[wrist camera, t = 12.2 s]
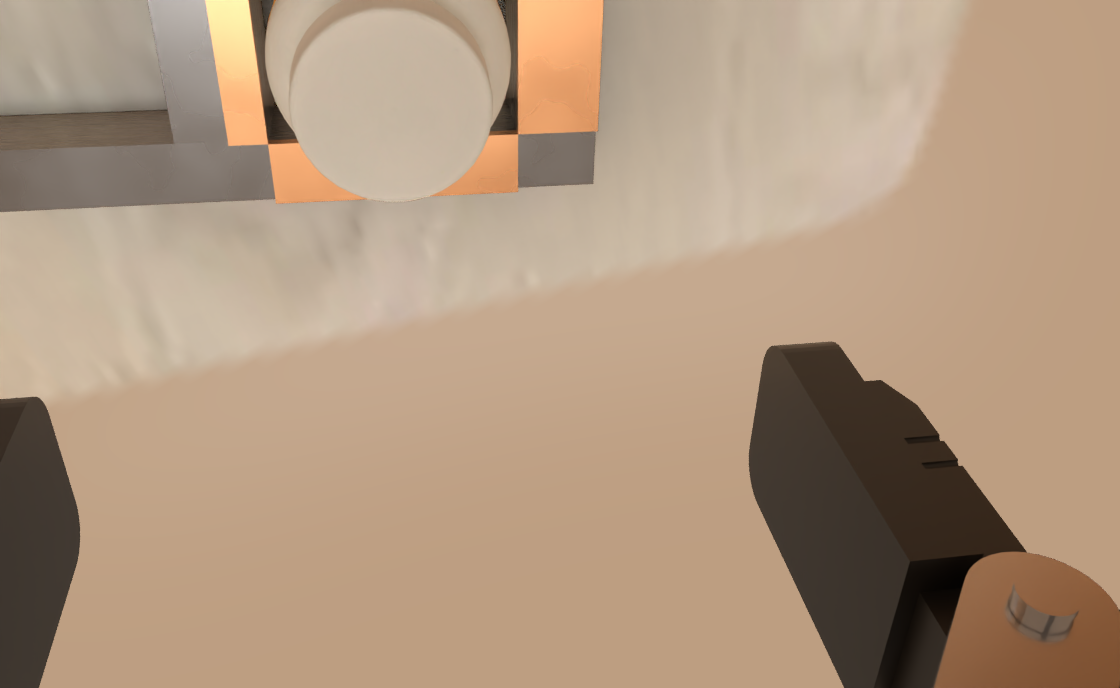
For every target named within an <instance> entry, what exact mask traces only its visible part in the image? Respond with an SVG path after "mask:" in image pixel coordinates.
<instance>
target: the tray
mask: <svg viewBox="0 0 1120 688" xmlns="http://www.w3.org/2000/svg"><path fill="white" fill-rule="evenodd" d="M603 1H604V0H505V24H506V27H507V32H508V37H509V43H510V51H511V69H510V79H509V85H508V89H507V92H506V99H505V100H504V102H503V105H502V107H501V110H500V112H499V114H498V116H497V117H496V119H495V121H494V123H493V125H492V126H491V128H490V132H489V136H488V139H487V141H486V144H485V146H484V148H483V150H482V152H481V153H480V155H479V157H478V158H477V160H476V162H475V163H474V165H473V166H472V167H471V168H470V169H469V170H468V171H467V172H466V173H465V174H464V175H463V176H462V177H461V178H460V179H459V180H458V181H456V182H455V183H453V184H452V185H450V186H449V187H447V188H446V189H444V190H442V191H440V192H438V193H436V194H433V195H431V196H444V195H465V194H485V193H506V192H518V187H537V186H558V185H579V184H593V176H594V153H595V131H598V113H599V91H600V68H601V46H602V23H603ZM147 2H148V7H149V13H150V18H151V23H152V29H153V34H154V39H155V44H156V50H157V55H158V60H159V66H160V71H161V76H162V81H163V87H164V92H165V97H166V103H167V108H168V110H165V111H136V112H107V113H78V114H50V115H21V116H0V212H10V211H31V210H52V209H73V208H94V207H115V206H137V205H158V204H179V203H200V202H221V201H242V200H263V199H276V204H277V203H298V202H319V201H340V200H361V199H367V198H363V197H360V196H358V195H355V194H353V193H350V192H348V191H346V190H344V189H342V188H340V187H338V186H337V185H335V184H334V183H333V182H331V181H330V180H329V179H327V178H326V177H325V176H323V175H322V174H321V173H320V172H319V171H318V170H317V169H316V168H315V166H314V165H313V164H312V163H311V161H310V160H309V159H308V158H307V156H306V155H305V153H304V152H303V150H302V148H301V146H300V144H299V142H298V140H297V138H296V135H295V133H294V131H293V130H292V129H291V127H290V126H289V125H288V123H287V122H286V120H285V119H284V117H283V115H282V113H281V112H280V110H279V108H278V107H275V104H274V97H273V94H272V91H271V88H270V85H269V81H268V76H267V71H266V64H265V39H266V35H265V28H264V20H263V12H262V5H261V0H147Z"/></svg>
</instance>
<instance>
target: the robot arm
mask: <svg viewBox="0 0 1120 688" xmlns="http://www.w3.org/2000/svg"><path fill="white" fill-rule="evenodd" d="M957 461H958V459H957V458H956V457H955V455H954V454H953V452H952V451H951V450H950V448H949V447H948V446H947V444H946V443H945V442H944V441H940V439H939V434H938V433H937V431H936V430H935V428H934V427H933V426H932V424H931V423H930V422H929V420H928V419H927V418H926V416H925V415H924V414H923V412H922V411H921V410H920V408H919V407H918V406H917V405H916V404H915V403H913V402H912V401H910V400H909V399H908V398H906V397H905V396H903V395H902V394H900V393H899V392H897V391H896V390H895V389H893V388H892V387H890V386H889V385H887V384H886V383H884V382H883V381H881V380H876V381H864V380H863V379H862V377H861V376H860V374H859V373H858V372H857V370H856V369H855V367H854V366H853V364H852V363H851V362H850V360H849V359H848V357H847V356H846V354H845V353H844V352H843V350H842V349H841V347H839V345H838V344H836V343H835V342H820V343H808V344H807V343H806V344H792V345H778V346H771V347H770V348H769V349H768V350H767V352H766V354H765V357H764V361H763V365H762V372H761V378H760V384H759V392H758V398H757V404H756V410H755V416H754V423H753V429H752V436H751V442H750V449H749V471H750V478H751V484H752V489H753V492H754V495H755V499H756V501H757V504H758V506H759V508H760V510H761V512H762V514H763V516H764V518H765V521H766V523H767V525H768V527H769V529H770V531H771V533H772V535H773V538H774V540H775V542H776V544H777V546H778V548H779V550H780V552H781V554H782V557H783V558H784V561H785V563H786V565H787V567H788V569H789V571H790V573H791V576H792V578H793V580H794V582H795V584H796V586H797V588H798V591H799V592H800V595H801V597H802V599H803V601H804V603H805V605H806V608H807V610H808V612H809V614H810V616H811V618H812V620H813V622H814V624H815V627H816V629H817V631H818V633H819V635H820V637H821V639H822V641H823V644H824V646H825V648H826V650H827V652H828V654H829V656H830V658H831V660H832V663H833V665H834V667H835V669H836V671H837V673H838V675H839V677H840V680H841V682H842V684H843V686H844V688H1120V610H1119V609H1118V607H1117V605H1116V604H1115V603H1114V601H1113V600H1112V598H1111V597H1110V596H1109V595H1108V594H1107V593H1106V591H1104V589H1102V587H1101V586H1099V585H1098V584H1097V583H1096V582H1094V581H1093V580H1092V579H1091V578H1089V577H1088V576H1087V575H1085V574H1083V573H1082V572H1080V571H1079V570H1077V569H1075V568H1073V567H1071V566H1069V565H1067V564H1065V563H1063V562H1060V561H1058V560H1055V559H1052V558H1049V557H1046V556H1042V555H1038V554H1032V553H1027V552H1026V550H1025V549H1024V548H1023V546H1022V545H1021V544H1020V542H1019V541H1018V540H1017V538H1016V537H1015V536H1014V535H1013V533H1012V532H1011V530H1010V529H1009V528H1008V526H1007V525H1006V523H1005V522H1004V521H1003V519H1002V518H1001V517H1000V516H999V514H998V513H997V511H996V510H995V509H994V507H993V506H992V505H991V503H990V502H989V501H988V499H987V498H986V497H985V495H984V494H983V493H982V492H981V490H980V489H979V487H978V486H977V485H976V483H975V482H974V481H973V479H972V478H971V477H970V475H969V474H968V473H967V471H966V470H965V469H964V467H963V466H958V462H957ZM79 547H80V524H79V515H78V509H77V505H76V501H75V498H74V495H73V492H72V488H71V485H70V482H69V478H68V475H67V472H66V468H65V465H64V462H63V459H62V456H61V452H60V449H59V446H58V442H57V439H56V436H55V433H54V429H53V426H52V423H51V419H50V416H49V413H48V410H47V408H46V406H45V404H44V403H43V401H42V400H41V399H40V398H38V397H25V398H11V399H0V688H39V685H40V682H41V678H42V675H43V672H44V669H45V666H46V662H47V659H48V656H49V653H50V649H51V646H52V643H53V640H54V636H55V633H56V630H57V626H58V623H59V620H60V617H61V614H62V610H63V607H64V604H65V601H66V597H67V594H68V591H69V587H70V584H71V581H72V578H73V575H74V571H75V568H76V564H77V561H78V555H79Z"/></svg>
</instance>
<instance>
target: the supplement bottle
mask: <svg viewBox="0 0 1120 688" xmlns="http://www.w3.org/2000/svg"><path fill="white" fill-rule="evenodd" d="M265 64H266V71H267V76H268V81H269V85H270V88H271V91H272V94H273V97H274V99H275V102H276V104H277V106H278V108H279V110H280V112H281V113H282V115H283V117H284V119H285V120H286V122H287V123H288V125H289V126H290V127H291V129H292V130H293V131H294V133H295V135H296V138H297V140H298V142H299V144H300V146H301V148H302V150H303V152H304V153H305V155H306V156H307V158H308V159H309V160H310V161H311V163H312V164H313V165H314V166H315V168H316V169H317V170H318V171H319V172H320V173H321V174H322V175H323V176H325V177H326V178H327V179H329V180H330V181H331V182H333V183H334V184H335V185H337V186H338V187H340V188H342V189H344V190H346V191H348V192H350V193H353V194H355V195H358V196H360V197H363V198H367V199H370V200H375V201H383V202H405V201H413V200H418V199H422V198H425V197H428V196H431V195H433V194H436V193H438V192H440V191H442V190H444V189H446V188H447V187H449V186H450V185H452V184H453V183H455V182H456V181H458V180H459V179H460V178H461V177H462V176H463V175H464V174H465V173H466V172H467V171H468V170H469V169H470V168H471V167H472V166H473V165H474V163H475V162H476V160H477V158H478V157H479V155H480V153H481V152H482V150H483V148H484V146H485V144H486V141H487V139H488V136H489V132H490V128H491V126H492V125H493V123H494V121H495V119H496V117H497V116H498V114H499V112H500V110H501V107H502V105H503V102H504V100H505V96H506V92H507V89H508V85H509V79H510V69H511V51H510V43H509V37H508V32H507V27H506V24H505V21H504V18H503V15H502V12H501V9H500V7H499V4H498V1H497V0H274V2H273V6H272V9H271V12H270V15H269V19H268V25H267V31H266V39H265Z"/></svg>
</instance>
